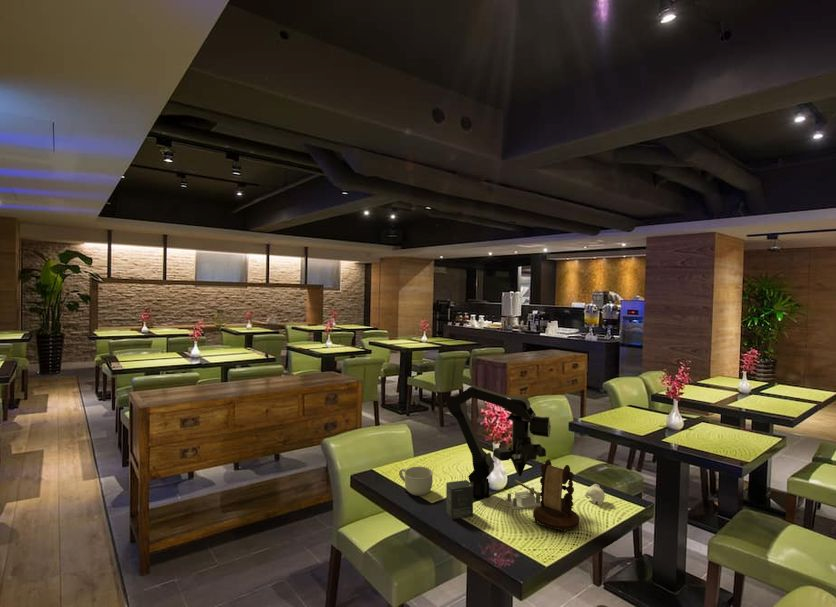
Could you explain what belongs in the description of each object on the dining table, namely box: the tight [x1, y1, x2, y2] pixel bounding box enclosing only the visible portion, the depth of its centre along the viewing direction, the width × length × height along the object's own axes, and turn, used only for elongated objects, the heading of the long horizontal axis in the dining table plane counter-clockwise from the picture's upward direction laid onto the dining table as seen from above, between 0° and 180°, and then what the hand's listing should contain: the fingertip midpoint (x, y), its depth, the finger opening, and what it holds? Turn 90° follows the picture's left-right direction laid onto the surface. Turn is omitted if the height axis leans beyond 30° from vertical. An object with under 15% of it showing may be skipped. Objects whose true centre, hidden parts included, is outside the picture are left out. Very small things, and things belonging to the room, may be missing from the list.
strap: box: [514, 478, 537, 495], centre depth 163 cm, size 10×3×1 cm
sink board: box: [504, 487, 541, 511], centre depth 162 cm, size 12×7×4 cm, turn 108°
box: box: [445, 479, 474, 521], centre depth 153 cm, size 8×6×11 cm
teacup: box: [398, 465, 434, 497], centre depth 171 cm, size 14×11×8 cm
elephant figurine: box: [584, 483, 607, 506], centre depth 164 cm, size 7×8×6 cm
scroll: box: [532, 459, 581, 534], centre depth 149 cm, size 15×15×20 cm
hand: (519, 475), depth 162 cm, fingers closed
